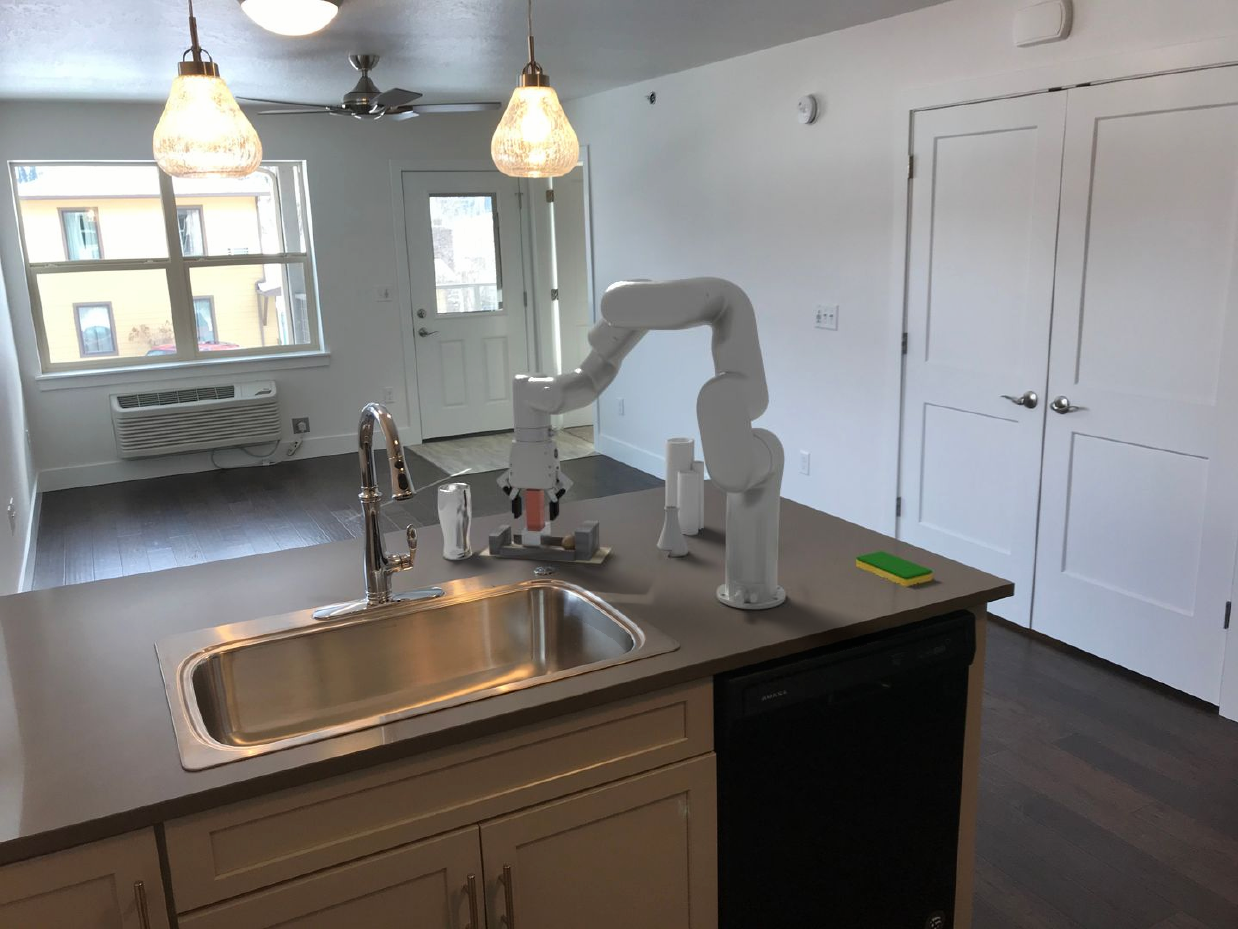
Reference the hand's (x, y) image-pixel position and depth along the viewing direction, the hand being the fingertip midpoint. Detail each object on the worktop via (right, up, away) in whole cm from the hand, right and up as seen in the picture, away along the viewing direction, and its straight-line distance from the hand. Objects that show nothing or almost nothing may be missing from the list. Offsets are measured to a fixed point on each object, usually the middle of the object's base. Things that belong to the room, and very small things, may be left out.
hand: (535, 517), depth 200 cm
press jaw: (0, -7, +2) cm, 7 cm away
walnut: (+7, -7, 0) cm, 10 cm away
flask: (+28, -8, +4) cm, 30 cm away
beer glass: (-17, -9, +4) cm, 19 cm away
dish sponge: (+71, -11, -10) cm, 73 cm away
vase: (+33, -4, +21) cm, 39 cm away
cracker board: (+2, -9, +2) cm, 9 cm away
